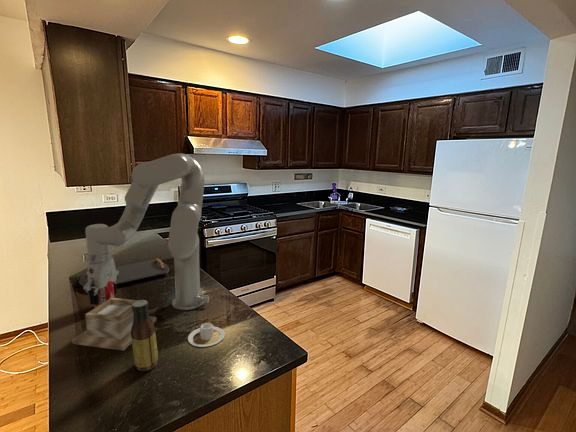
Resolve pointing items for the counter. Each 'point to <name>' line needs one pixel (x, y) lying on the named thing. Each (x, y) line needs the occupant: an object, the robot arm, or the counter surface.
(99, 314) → the display stand
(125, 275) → the serving board
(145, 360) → the sauce bottle
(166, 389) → the counter surface
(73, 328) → the counter surface
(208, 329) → the candle holder
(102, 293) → the soda can
